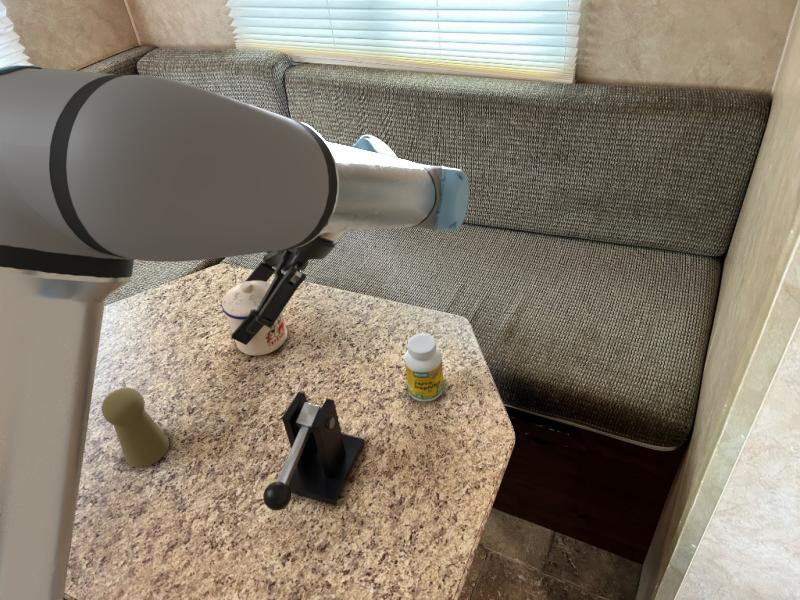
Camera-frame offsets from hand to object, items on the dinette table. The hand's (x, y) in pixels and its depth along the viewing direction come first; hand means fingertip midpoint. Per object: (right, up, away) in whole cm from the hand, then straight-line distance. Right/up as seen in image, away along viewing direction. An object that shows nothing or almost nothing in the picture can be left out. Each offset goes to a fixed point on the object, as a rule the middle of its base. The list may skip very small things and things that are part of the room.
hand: (243, 314), depth 101 cm
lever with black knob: (+14, -17, -27) cm, 35 cm away
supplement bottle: (+30, -11, -10) cm, 33 cm away
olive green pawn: (-10, -19, -14) cm, 26 cm away
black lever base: (+16, -20, -19) cm, 32 cm away
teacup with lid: (+3, -3, +3) cm, 5 cm away
